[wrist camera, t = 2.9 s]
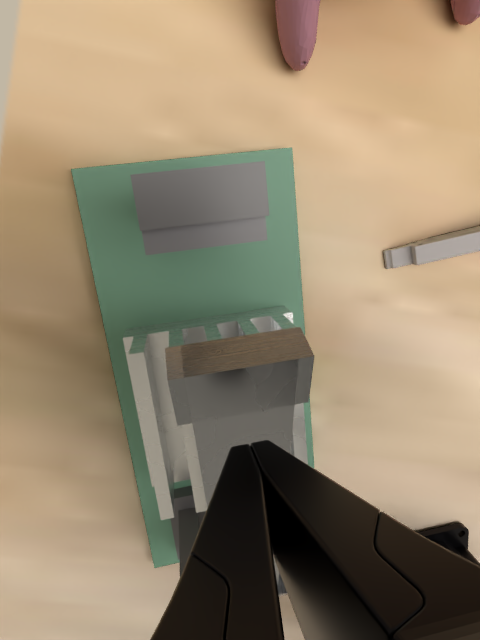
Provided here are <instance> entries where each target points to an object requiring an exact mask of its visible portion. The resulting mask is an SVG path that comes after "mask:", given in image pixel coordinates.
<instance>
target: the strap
mask: <svg viewBox="0 0 480 640" xmlns="http://www.w3.org/2000/svg"><path fill="white" fill-rule="evenodd" d="M165 356H166V368H167V381H168V385H169V390H170V394H171V399H172V403H173V408H174V413H175V417H176V422H177V426H179V425H185V424H190V423H192V424H193V430H194V436H195V441H196V447H197V452H198V458H199V464H200V469H201V475H202V480H203V486H204V492H205V497H206V503H207V508H208V505H209V502H210V500H211V497H212V495H213V492H214V489H215V487H216V484H217V482H218V479H219V476H220V474H221V471H222V469H223V466H224V463H225V461H226V458H227V455H228V453H229V450H230V448H231V447H233V446H237V445H243V444H249V445H251V443H253V442H258V441H263V440H269V441H271V442H273V443H274V444H276V445H277V446H279V447H281V448H282V449H284V450H285V451H287V452H289V453H290V450H291V439H292V428H293V417H294V406H295V405H296V404H301V403H307V402H309V394H310V386H311V378H312V370H313V362H314V355H313V353H312V350H311V348H310V346H309V344H308V342H307V340H306V338H305V336H304V333H303V331H302V329H301V327H295V328H289V329H282V330H276V331H269V332H263V333H257V334H250V335H244V336H237V337H231V338H224V339H218V340H212V341H205V342H199V343H192V344H186V345H180V346H173V347H167V348H165ZM273 557H274V556H273ZM274 565H275V572H276V580H277V587H278V595H279V596H284V595H287V591H286V588H285V585H284V583H283V580H282V578H281V575H280V572H279V570H278V567H277V565H276V562H275V559H274Z"/></svg>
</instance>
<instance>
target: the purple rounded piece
mask: <svg viewBox="0 0 480 640" xmlns="http://www.w3.org/2000/svg"><path fill="white" fill-rule="evenodd" d="M319 4H320V0H275V5H276V19H277V27H278V35H279V40H280V45H281V49H282V53H283V56H284V59H285V61H286V62H287V63H288V64H289V65H290V67H291V68H292V69H294V70H295V71H300V70H302V69H304V68H305V67H306V65H307V64H308V62H309V60H310V58H311V56H312V53H313V49H314V46H315V43H316V34H317V23H318V12H319ZM451 7H452V12H453V14H454V19H455V20H456V21H457V22H458V23H460V24H463V25H467V24H470V23H472V22H473V21H475V20H476V19H477V18H478V17H480V0H451Z"/></svg>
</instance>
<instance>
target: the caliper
mask: <svg viewBox="0 0 480 640" xmlns="http://www.w3.org/2000/svg"><path fill="white" fill-rule="evenodd" d="M477 251H480V226H477V227H472V228H468V229H464V230H459V231H455V232H451V233H447V234H442V235H438V236H434V237H430V238H427V239H423V240H419V241H416V242H412V243H409V244H406V245H404V246H400V247H396V248H391V249H387V250H384V251H383V253H384V260H385V268H386V269H389V268H397V267H401V266H405V265H410V264H414V265H420V264H425V263H429V262H433V261H438V260H442V259H447V258H451V257H455V256H460V255H464V254H468V253H473V252H477Z"/></svg>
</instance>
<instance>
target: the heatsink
mask: <svg viewBox="0 0 480 640" xmlns="http://www.w3.org/2000/svg"><path fill="white" fill-rule="evenodd" d="M295 327H296V326H295V325H294V324H293V313H292V312H291V311H290V310H289V309H288V308H287V307H285V306H278V307H271V308H264V309H257V310H251V311H244V312H237V313H230V314H224V315H217V316H210V317H203V318H197V319H190V320H183V321H176V322H170V323H163V324H156V325H149V326H143V327H136V328H129V329H126V330H125V333H124V336H123V342H124V347H125V352H126V358H127V363H128V368H129V373H130V378H131V383H132V388H133V393H134V398H135V403H136V408H137V413H138V418H139V423H140V428H141V433H142V438H143V443H144V448H145V453H146V459H147V464H148V469H149V474H150V479H151V484H152V487H154V488H155V493H156V498H157V503H158V508H159V513H160V518H161V520H165V519H169V518H174V482H179V481H184V480H189V479H191V485H192V491H193V497H194V503H195V509H196V513H198V512H203V511H206V510H207V503H206V497H205V492H204V486H203V480H202V475H201V469H200V464H199V458H198V452H197V447H196V441H195V436H194V430H193V424H192V423H190V424H185V425H179V426H177V422H176V417H175V413H174V408H173V403H172V399H171V394H170V390H169V385H168V381H167V368H166V356H165V348H167V347H173V346H180V345H186V344H192V343H199V342H205V341H212V340H218V339H224V338H231V337H237V336H244V335H250V334H257V333H263V332H269V331H276V330H282V329H289V328H295ZM290 454H292V455H293V456H295V457H296V458H298V459H300V460H301V461H303V462H304V463H306V464H308V457H307V444H306V430H305V417H304V403H301V404H296V405H295V406H294V417H293V428H292V439H291V450H290Z"/></svg>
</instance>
